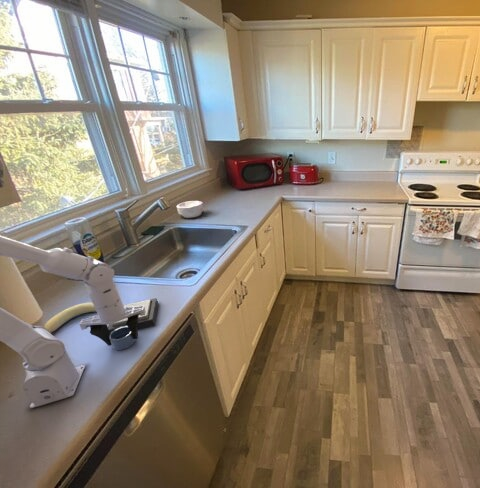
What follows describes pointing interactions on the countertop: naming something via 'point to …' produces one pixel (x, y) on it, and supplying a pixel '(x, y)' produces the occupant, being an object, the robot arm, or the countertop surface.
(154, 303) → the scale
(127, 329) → the bowl
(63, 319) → the fruit
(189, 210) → the paper bowls
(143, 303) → the platform
